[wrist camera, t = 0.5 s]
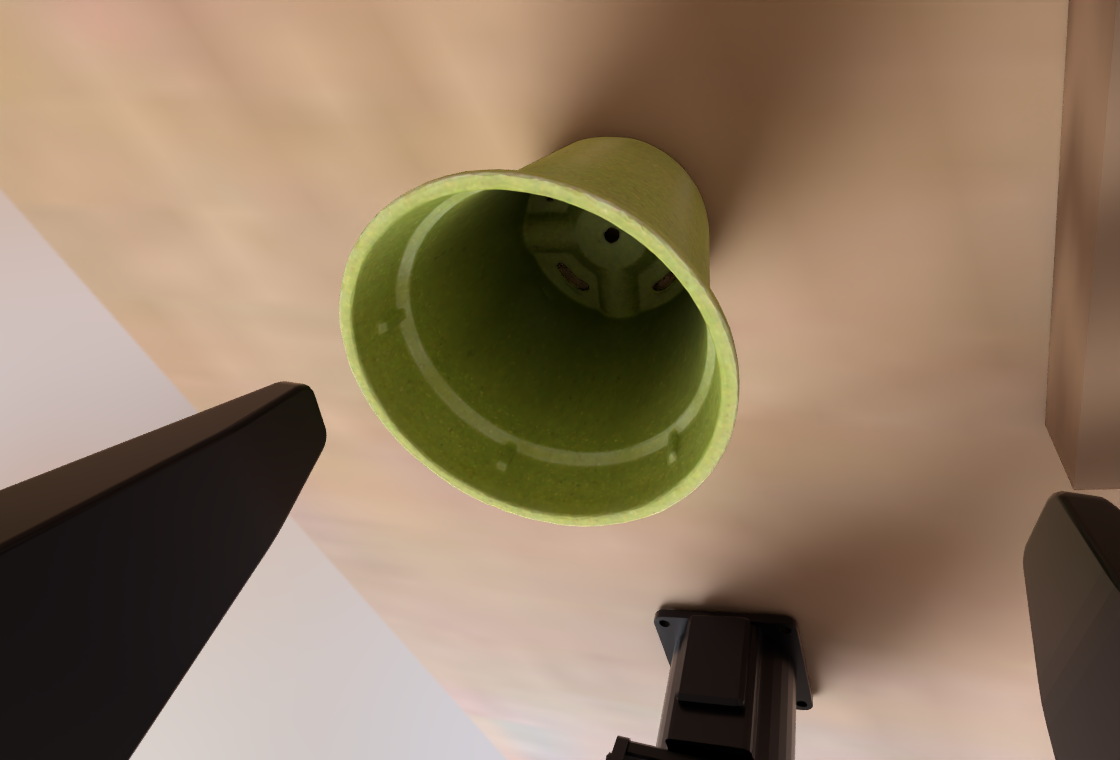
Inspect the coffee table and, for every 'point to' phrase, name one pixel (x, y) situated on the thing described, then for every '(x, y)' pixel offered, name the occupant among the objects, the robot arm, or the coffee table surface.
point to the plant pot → (548, 333)
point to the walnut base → (1088, 255)
